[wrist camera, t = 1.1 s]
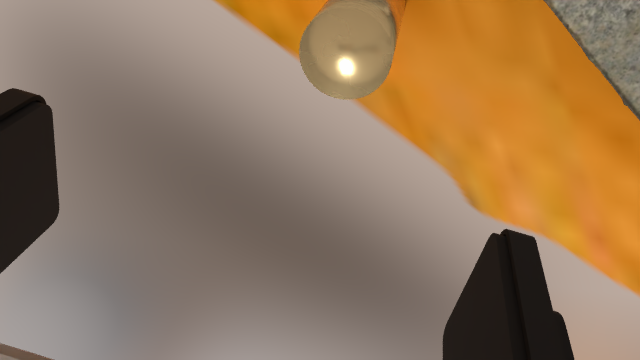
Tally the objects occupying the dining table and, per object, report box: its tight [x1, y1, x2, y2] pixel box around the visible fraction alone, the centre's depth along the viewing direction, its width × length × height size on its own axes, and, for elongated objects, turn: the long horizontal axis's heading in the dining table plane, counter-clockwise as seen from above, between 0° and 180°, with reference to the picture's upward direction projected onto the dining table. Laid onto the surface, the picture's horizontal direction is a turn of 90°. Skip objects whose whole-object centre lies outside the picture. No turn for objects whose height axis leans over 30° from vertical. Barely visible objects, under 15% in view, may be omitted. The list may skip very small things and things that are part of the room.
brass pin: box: [299, 0, 406, 100], centre depth 24 cm, size 4×4×9 cm
